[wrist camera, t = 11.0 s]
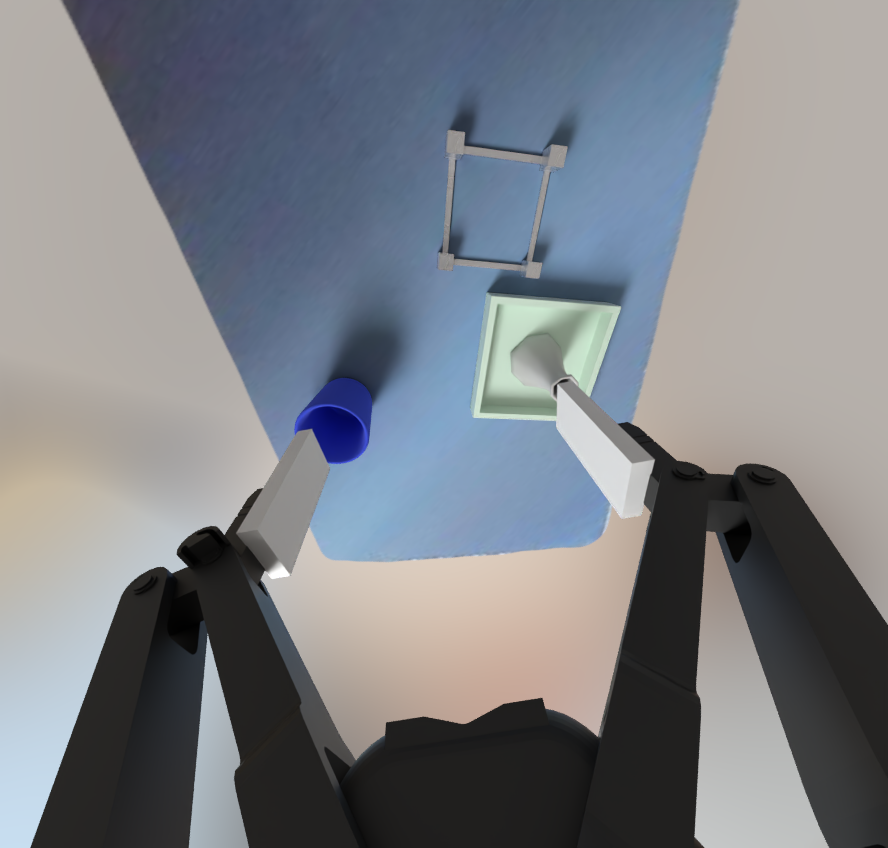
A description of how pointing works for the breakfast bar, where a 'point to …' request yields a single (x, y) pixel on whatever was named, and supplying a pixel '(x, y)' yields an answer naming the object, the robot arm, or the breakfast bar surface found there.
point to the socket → (548, 161)
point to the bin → (521, 316)
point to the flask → (540, 363)
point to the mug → (339, 420)
